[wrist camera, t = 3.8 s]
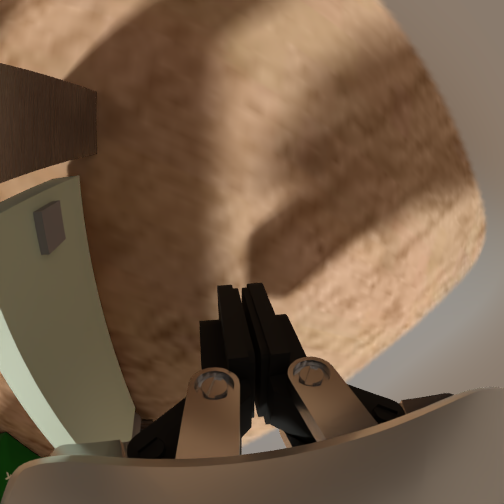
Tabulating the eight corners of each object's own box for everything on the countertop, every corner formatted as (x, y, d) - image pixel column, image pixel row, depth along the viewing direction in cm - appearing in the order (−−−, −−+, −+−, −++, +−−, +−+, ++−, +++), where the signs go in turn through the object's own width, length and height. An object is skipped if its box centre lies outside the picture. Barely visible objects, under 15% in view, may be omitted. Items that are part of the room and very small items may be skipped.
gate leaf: (119, 422, 14) (109, 506, 9) (46, 180, 9) (-60, 233, 3) (146, 424, 15) (143, 510, 9) (86, 174, 9) (-15, 225, 4)
